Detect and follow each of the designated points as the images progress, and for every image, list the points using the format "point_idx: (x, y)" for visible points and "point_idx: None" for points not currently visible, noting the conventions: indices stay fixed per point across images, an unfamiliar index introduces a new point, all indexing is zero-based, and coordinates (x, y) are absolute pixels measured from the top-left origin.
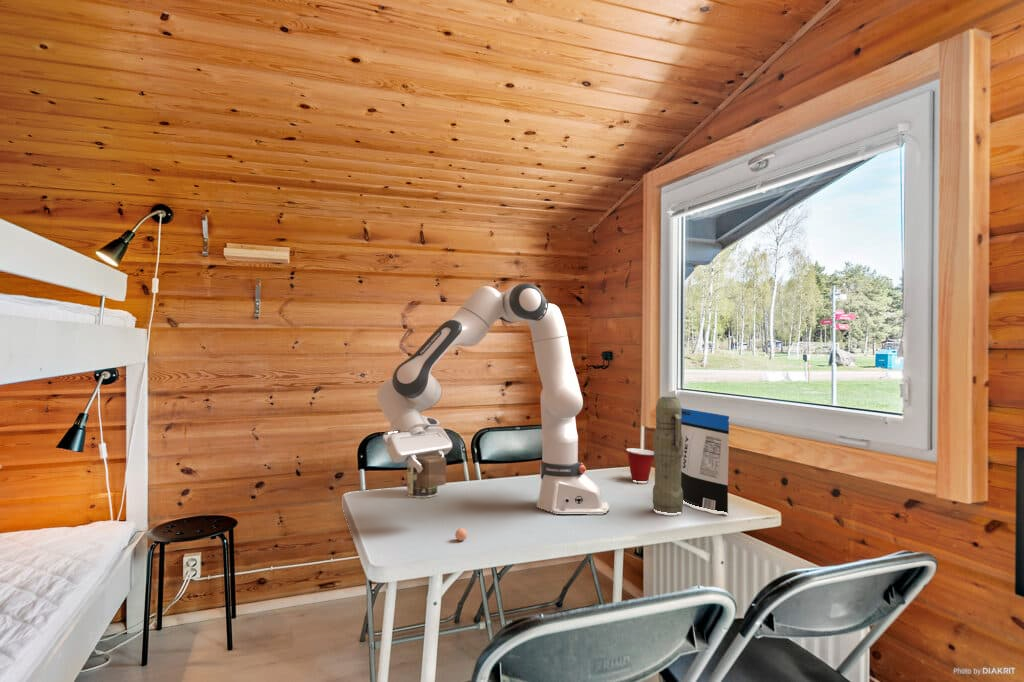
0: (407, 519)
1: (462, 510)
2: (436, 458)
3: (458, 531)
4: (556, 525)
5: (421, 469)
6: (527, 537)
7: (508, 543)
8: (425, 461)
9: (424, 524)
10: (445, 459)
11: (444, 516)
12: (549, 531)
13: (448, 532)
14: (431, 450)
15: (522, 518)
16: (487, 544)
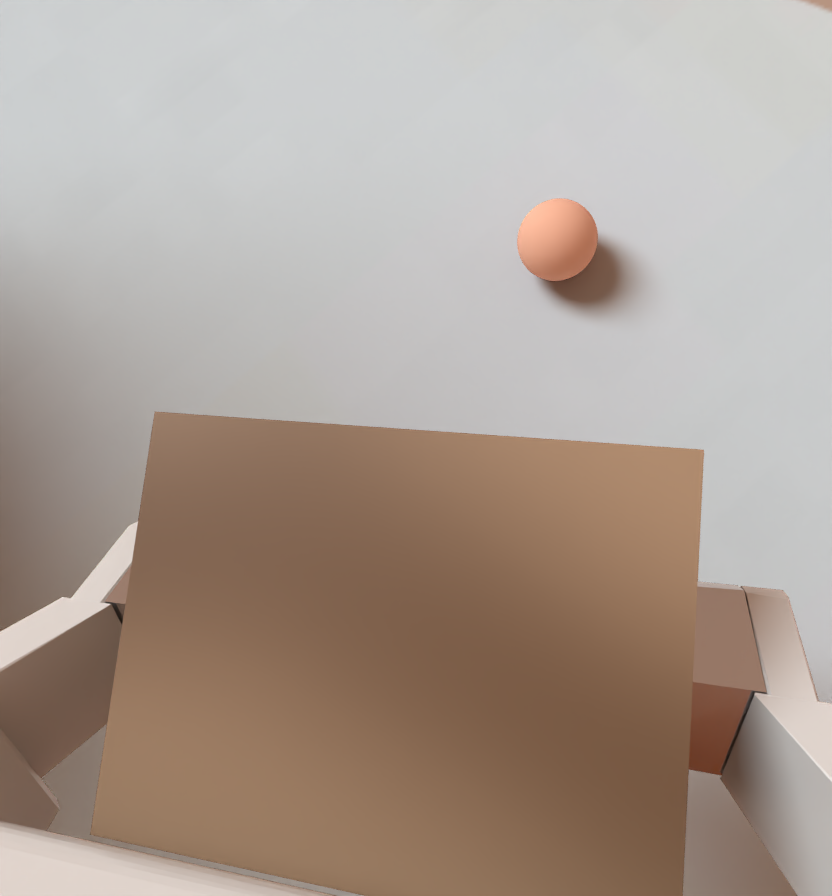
0: None
1: None
2: (332, 532)
3: (587, 224)
4: (25, 53)
5: (769, 591)
6: (277, 29)
7: (422, 32)
8: (690, 584)
9: None
10: (186, 419)
11: None
12: (130, 15)
13: (482, 427)
14: (152, 859)
15: (9, 265)
16: (510, 100)
